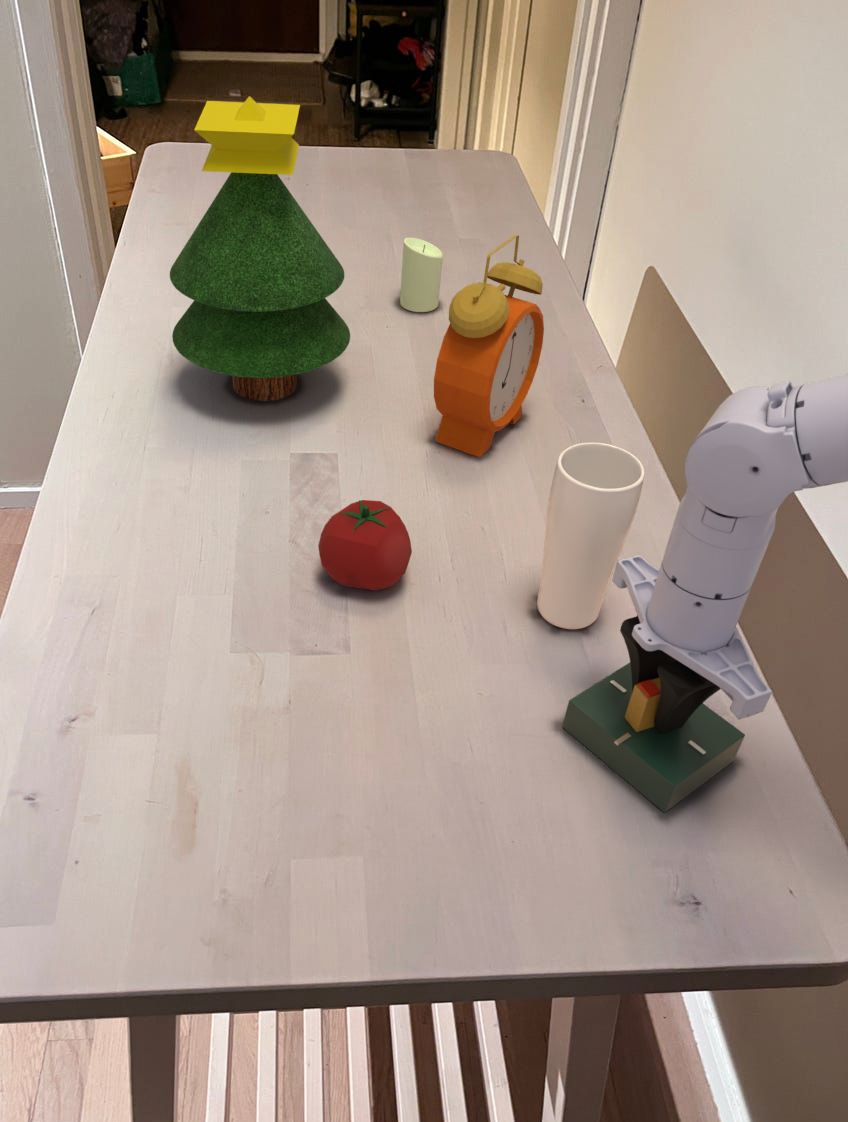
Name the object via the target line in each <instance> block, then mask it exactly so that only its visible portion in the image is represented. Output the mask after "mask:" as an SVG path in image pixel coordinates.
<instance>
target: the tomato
mask: <svg viewBox="0 0 848 1122" xmlns="http://www.w3.org/2000/svg"><path fill="white" fill-rule="evenodd" d="M411 543H412V542H411V538H410V535H409V531H408V529H407V526H406V525H405V523H404V521H403V520H402V518H401V517H400V515H399V514H397V512H396V511H395V510H394V509H393V507H392V506H390V505H388V504H387V503H385V502H383V501H382V500H372V499H371V500H370V499H359V500H358V501H355V502H352V503H349V504H348V505H347V506H346V507H343V509H341V510H339V511H338V512H335V514H333V515H332V516H331V517H329V519H328V521H327V522H326V523H325V524H324V526H323V528H322V531H321V533H320V537H319V541H318V545H317V546H318V555H319V559H320V562H321V567H322V568H323V569H324V570H325V571H326V572H327V574H328V575H329V576H330V578H331V579H332V580H333V581H335V582H336V583H338V584H340V585H342V586H344V587H349V588H356V589H363V590H368V591H369V590H371V591H378V590H383V589H384V590H385V589H387V588H390V587H392V586H394V585H395V584H396V583H397V582H398V581H399V580H400V579H401V578H403V576H404V575H405V574H406V572H407V570H408V567H409V563H410V559H411V557H412V554H413V552H412V551H413V550H412V544H411Z"/></svg>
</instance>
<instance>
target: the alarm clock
mask: <svg viewBox="0 0 848 1122" xmlns="http://www.w3.org/2000/svg"><path fill="white" fill-rule="evenodd" d="M513 240H515V244H514V254H513V262H514V263H512V262H507V261H504V262H497V263H496V264H494V265H493V266H492V267H491V268H489V267H490V260H491V257H492V255H494V254H495V253H496V252H497V251H499V250H500V249H502V248H504V247H505V246H506V245H508V244H509V243H510V242H511V241H513ZM519 241H520V235H519V234H514V235H513V236H511V237H510V238H509V239H507V240H506V241H504V242H503V243H502V244H500V245H499V246H498V247H496V248H494V249H493V250H491V251H490V252H488V254H487V257H486V261H485V262H486V263H485V269H484V276H483V282H475V283H471V284H468V285H466V286H464V287H463V288H461V289H460V290H458V291H457V293H455V295H454V296H453V297H452V299H451V302H450V304H449V307H448V321H449V324H448V327H447V329H446V332H445V334H444V336H443V338H442V342H441V346H440V348H439V351H438V355H437V359H436V364H435V371H434V376H433V399H434V404H435V407H436V410H437V411H438V412H439V413H440V414H441V415H442V416H441V419H440V423H439V426H438V430H437V433H436V437H435V441H434V442H436V443H439V444H442V445H444V446H447V447H449V448H452V449H456V450H458V451H461V452H464V453H465V454H469V455H472V456H474V457H477V458H482V457H483V456H484V455H485V453H487V452H488V451H489V450H490V447H491V445H492V441H493V439H494V436H495V433H496V432H499V431H501V430H502V429H504V428H506V427H507V426H508V425H509V424H512V425H515V424H516V423H518V421H519V420H520V419H521V418H522V417H523V408H522V405H523V403H524V401H525V400H526V397H527V395H528V393H529V391H530V388H531V386H532V384H533V381H534V378H535V376H536V372H537V370H538V367H539V362H540V358H541V354H542V350H543V342H544V333H545V325H544V324H545V323H544V322H545V321H544V315H543V313H542V310H541V308H540V306H538V304H537V303H533V302H531V301H527V300H524V299H521V298H517V297H514V293H515V291H516V290H519V291H522V292H526V293H529V294H534V295H540V296H541V295H542V293H543V287H544V286H543V285H544V284H543V281H542V277H541V275H539V273H537V272H536V271H535V270H533V269H531V268H529V267H526V266H524V264H525V260H524V259H522V258H521V259H519V261H518V250H519ZM488 279H489V280H491V281H493V282H496V283H498V284H499V285H497V286H496V285H493V284H492V283H487V281H488ZM506 287H509V291H508V293H507V294H504V291H505V289H506Z"/></svg>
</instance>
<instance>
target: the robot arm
mask: <svg viewBox="0 0 848 1122" xmlns="http://www.w3.org/2000/svg"><path fill="white" fill-rule="evenodd" d="M684 474H685V479H686V491H685V494H684V495H683V497H681V498H682V499H681V500H680V502H679V504H678V507H677V511H676V513H675V518H674V520H673V524H672V527H671V530H670V534H669V537H668V540H667V543H666V547H665V551H664V553H663V557H662V560H661V563H660V567H659V569H658V568H657V567H655V566H654V565H652V563H650V562H648V561H647V560H646V559H645V558H644V557H643V556H642V555H641V554H638V555H633V556H630V557H626V558H622V559H618V561H617V564H616V566H615V569H614V572H613V574H612V578H611V581H612V583H613V584H614V585H615V586H616V587H617V588H618V589H622V590H624V589H627V590H628V591H627V592H628V593H629V596H630V599H631V602H632V604H633V607H634V610H635V612H636V616H633V617H630V618H629V617H628V618H627V619H624V620H623V621H622V623H621V624H620V625H621V626H620V630H619V632H620V634H621V636H622V637H623V640H624V644H625V646H626V649H627V652H628V657H629V663H631V673H632V692H633V689H634V686H635V685H636V684H639V683H640V682H643V681H647V680H652V679H656V678H660V684H661V694H660V702H659V705H658V709H657V712H656V716H655V721H654V728H655V729H656V730H657V731H658V733H659V734H663V733H667V732H670V731H673V730H676V729H679V728H682V726H683V725H684V724H685V722H686V721H687V720H688V719H689V717H690V716H691V715H692V714H693V713H694V711H695V710H696V709H697V708H698V707H699V706H700V705H701V704H702V703H703V704H704V703H705V702H706V701H707V700H709V698H711V697H712V696H713V695H714V694H716V693H718V692H719V691H720V690H721V691H722V692H723V693H724V694H725V695H726V696H727V697H728V698H729V700H731V701H732V702H731V704H730V705H729V711H730V712H731V713H732V714H733V715H734V716H735V718H736V719H737V720H742V719H746V718H749V717H753V716H756V715H758V714H760V713H763V712H765V709H766V707H767V705H768V702H769V700H770V698H771V696H772V694H773V690H772V689H771V688H770V687H769V686H768V685H767V684H766V682H765V681H764V680H763V678H762V677H761V675H760V673H759V671H758V670H757V668H756V665H755V663H754V662H753V661H754V660H753V659H752V657H751V655H750V653H749V650H748V648H747V646H746V644H745V642H744V640H743V638H742V636H741V634H740V632H739V629H738V627H737V625H738V623H739V620H740V618H741V615H742V613H743V610H744V607H745V605H746V602H747V599H748V597H749V596H750V592H751V589H752V587H753V584H754V582H755V579H756V577H757V575H758V571H759V569H760V567H761V564H762V562H763V559H764V558H765V557H764V556H765V554H766V552H767V549H768V546H769V544H770V543H771V539H772V536H773V534H774V532H775V529H776V522H777V521H776V520H777V519H776V516H777V512H778V509H779V507H780V506H781V505H782V504H783V503H784V502H785V500H786V499H787V497H788V496H789V495H791V494H792V493H793V494H794V493H795V492H799V491H803V490H805V489H806V490H807V489H815V488H819V487H820V488H821V487H825V486H832V485H837V484H842V483H847V482H848V372H846V373H842V374H838V375H834V376H831V377H826V378H822V379H819V380H815V381H810V382H807V383H802V384H799V385H796V386H793V383H792V381H791V380H789V379H788V380H784V381H781V382H777V383H774V384H772V385H771V387H769V386H751V387H746V388H743V389H740V390H737V391H735V392H734V393H731V394H730V395H729V396H727V397H726V398H725V400H723V402H721V403H720V405H719V406H718V407H717V408H716V409H715V411H714V413H713V414H712V415H711V417H710V418H709V420H708V421H707V422H706V424H705V425H704V427H702V429H701V431H700V432H699V433H698V434H697V436H696V437H695V438H694V440H693V442H692V443H691V445H690V448H689V450H688V452H687V454H686V457H685V461H684Z"/></svg>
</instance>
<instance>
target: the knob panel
mask: <svg viewBox="0 0 848 1122" xmlns="http://www.w3.org/2000/svg"><path fill="white" fill-rule="evenodd" d="M631 695H632V673H631V663H630V662H627V664H624V665H623V666H622V667H620V668H618V669H617V670H615V671H613V672H612V673H611V674H609V675H607V676H605V677H604V678H602V679H601V680H599V681H597V682H596V683H594V684H592V685H591V686H590V687H588V688H587V689H585V690H583V691H582V692H580V693H578V694H577V695H575V696H573V697H572V698H570V699H569V700H568V702H567V705H566V709H565V710H566V711H565V714H564V719H563V723H562V726H561V727H562V728H563V729H564V730H565V731H567V732H568V733H569V734H570V735H571V736H572V737H574V738H575V739H576V740H577V741H578V742H579V743H581V744H582V745H583V746H584V747H585V748H586V749H588V750H589V751H590V752H591V753H592V754H594V756H596V757H598V758H599V760H601V761H602V762H603V763H604V764H606V766H608V767H609V768H611V769H612V770H613V771H614V772H615V773H616V774H618V775H619V776H620V777H621V778H622V779H623V780H624V781H626V782H627V783H628V784H630V785H631V786H632V787H633V788H634V789H635V790H637V791H638V792H639V793H640V794H641V795H643V796H644V797H645V798H646V799H647V800H648V801H650V802H651V803H652V804H653V805H654V806H656V807H657V808H658V809H659V810H660V811H661V812H663V813H666V812H668V811H669V810H671V809H672V808H673V807H675V806H676V805H677V804H678V803H680V802H681V801H683V800H684V799H685V798H686V797H688V796H689V795H690V794H692V793H693V792H694V791H696V790H697V789H699V787H701V786H702V785H704V784H705V783H707V782H708V781H709V780H710V779H712V778H713V777H714V776H717V774H718V773H720V772H721V771H723V770H724V769H725V768H726V767H727V766H729V765H730V764H732V763H733V762H734V760H735V758H736V757H737V755H738V752H739V750H740V748H741V746H742V743H743V741H744V738H745V736H746V734H745V733H744V732H742V731H741V730H740V729H738V728H737V727H735V726H734V725H733V724H732V723H730V722H729V721H728V720H726V719H725V718H723V717H722V716H721V715H720V714H718V713H717V712H715V711H714V710H713V709H712V708H710V707H709V706H707V705H706V704H705V703H704V702H703V703H702V704H701V705H700V706H699V707H698V708H697V709H696V710H695V711H694V713H693V714H692V715H691V716H690V717H689V719H688V720H687V721H686V722H685V724H684V725H683V726H682V728H679V729H676V730H673V731H670V732H667V733H663V734H659V733H658V731H657V730H656V729H655V728H654V727H651V728H648V729H645V730H642V731H639V732H636V731H635V730H634V729H633V727H632V726H631V725H630V724H629V722H628V721H627V720H626V719H625V714H626V711H627V708H628V705H629V702H630V698H631Z"/></svg>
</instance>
